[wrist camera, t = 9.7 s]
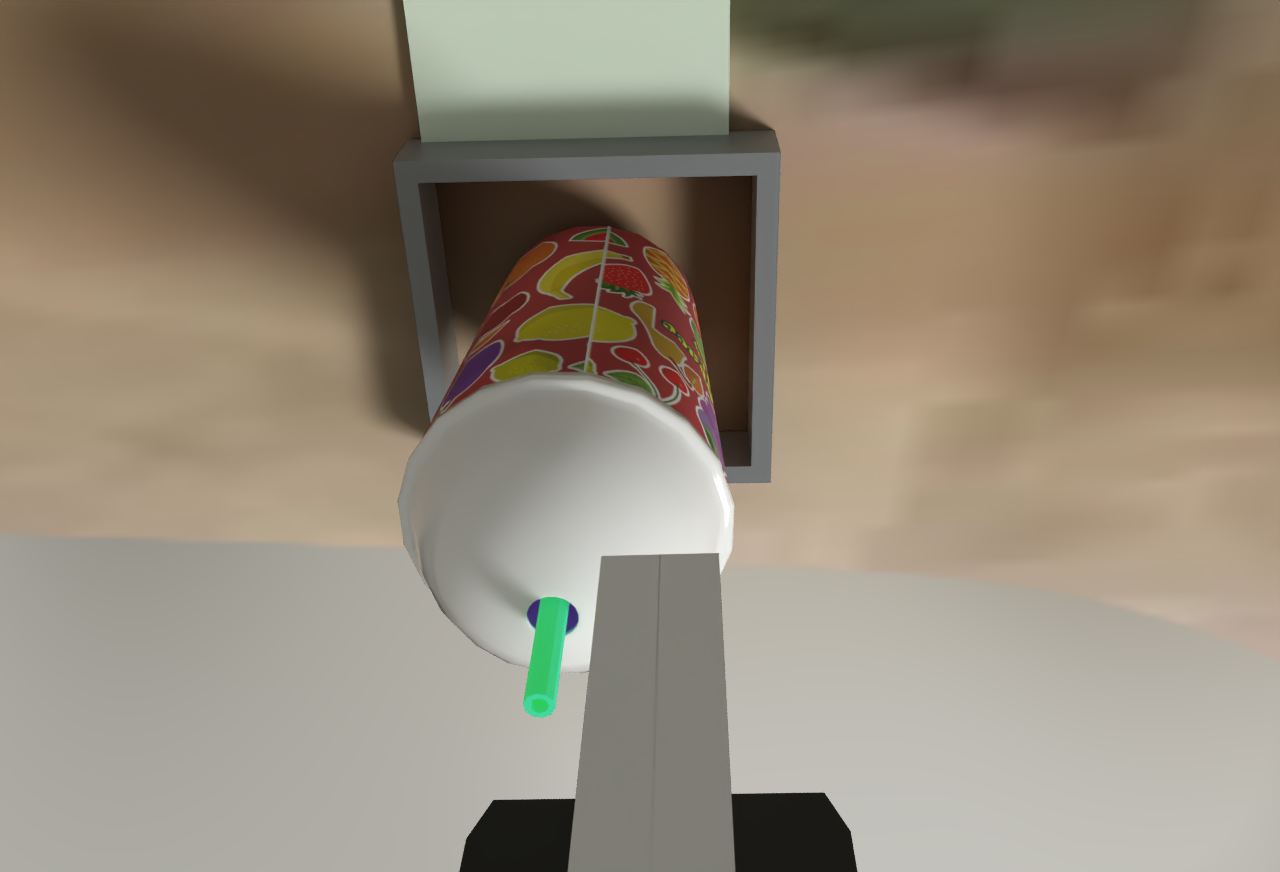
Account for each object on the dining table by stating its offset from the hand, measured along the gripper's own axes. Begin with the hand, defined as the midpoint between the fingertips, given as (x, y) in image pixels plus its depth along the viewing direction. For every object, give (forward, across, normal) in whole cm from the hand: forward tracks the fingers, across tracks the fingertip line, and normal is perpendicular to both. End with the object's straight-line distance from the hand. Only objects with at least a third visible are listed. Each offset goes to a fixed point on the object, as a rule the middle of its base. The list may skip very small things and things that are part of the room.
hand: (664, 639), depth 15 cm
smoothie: (+26, -3, -6) cm, 26 cm away
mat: (+25, -3, +5) cm, 26 cm away
